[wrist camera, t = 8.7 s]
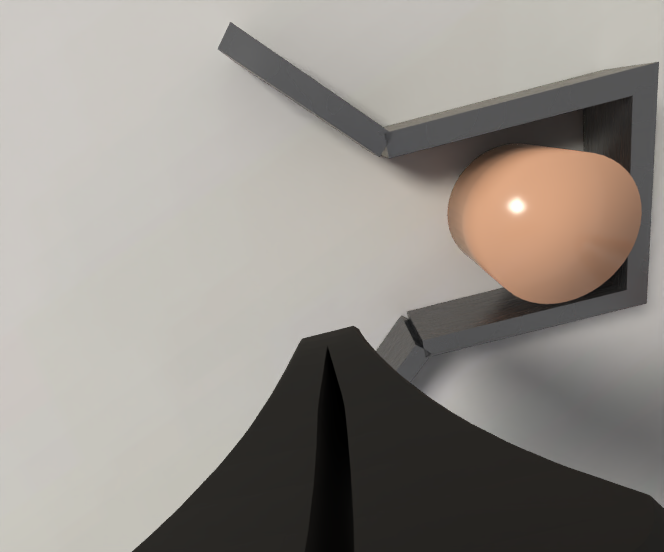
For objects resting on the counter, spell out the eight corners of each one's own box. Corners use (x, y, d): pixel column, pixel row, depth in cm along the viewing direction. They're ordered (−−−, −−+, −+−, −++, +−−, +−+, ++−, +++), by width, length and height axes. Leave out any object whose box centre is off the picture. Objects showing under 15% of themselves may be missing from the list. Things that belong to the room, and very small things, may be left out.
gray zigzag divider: (602, 353, 20) (642, 385, 18) (337, 417, 20) (342, 457, 18) (605, -60, 14) (666, -95, 11) (226, 41, 14) (210, 27, 12)
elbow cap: (568, 248, 18) (638, 283, 14) (455, 276, 18) (495, 319, 14) (565, 128, 16) (645, 133, 12) (439, 161, 16) (480, 175, 12)
